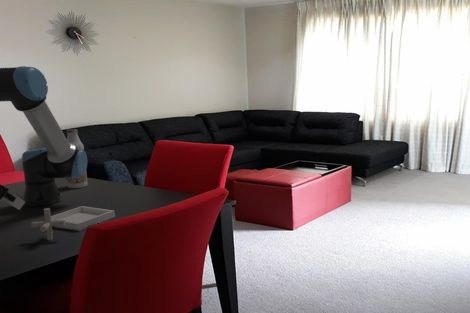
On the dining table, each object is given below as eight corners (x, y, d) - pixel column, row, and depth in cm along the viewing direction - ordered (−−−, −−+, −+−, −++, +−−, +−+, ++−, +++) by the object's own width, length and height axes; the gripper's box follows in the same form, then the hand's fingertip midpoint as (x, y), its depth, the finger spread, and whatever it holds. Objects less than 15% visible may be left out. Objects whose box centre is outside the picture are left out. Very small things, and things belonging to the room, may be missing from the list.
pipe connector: (39, 235, 149) (36, 205, 147) (70, 233, 150) (67, 203, 148) (28, 245, 139) (24, 214, 137) (61, 243, 140) (58, 212, 138)
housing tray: (45, 225, 160) (44, 218, 159) (82, 212, 174) (82, 206, 174) (78, 231, 151) (78, 223, 151) (115, 217, 166) (114, 210, 165)
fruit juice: (66, 189, 216) (60, 131, 211) (68, 185, 225) (63, 129, 220) (87, 187, 218) (81, 130, 213) (88, 183, 227) (83, 128, 222)
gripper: (-78, 168, 126) (-15, 207, 140) (-45, 177, 111) (23, 220, 124) (-60, 147, 130) (0, 187, 143) (-25, 152, 114) (39, 197, 128)
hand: (11, 202), depth 134 cm, fingers open, 13 cm apart
